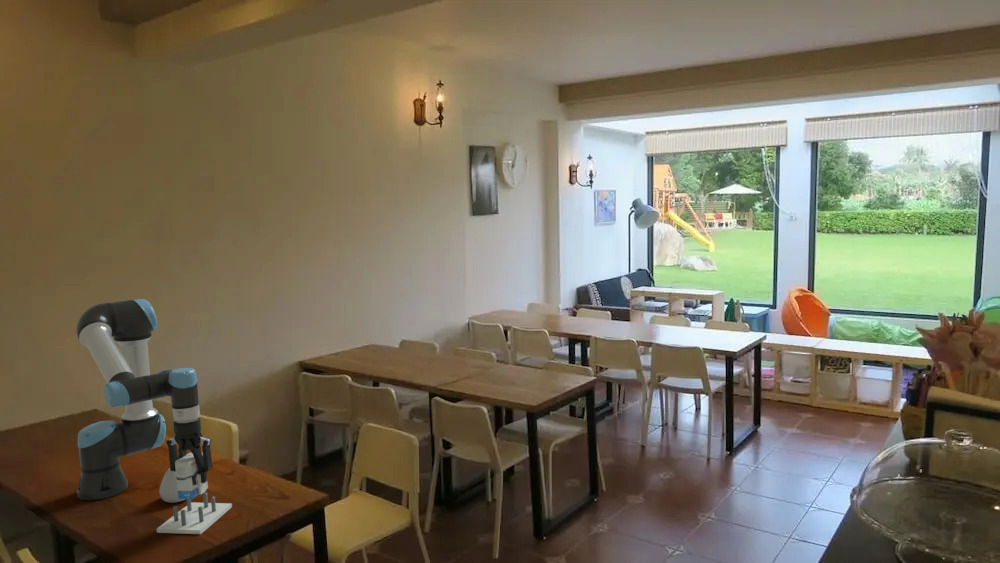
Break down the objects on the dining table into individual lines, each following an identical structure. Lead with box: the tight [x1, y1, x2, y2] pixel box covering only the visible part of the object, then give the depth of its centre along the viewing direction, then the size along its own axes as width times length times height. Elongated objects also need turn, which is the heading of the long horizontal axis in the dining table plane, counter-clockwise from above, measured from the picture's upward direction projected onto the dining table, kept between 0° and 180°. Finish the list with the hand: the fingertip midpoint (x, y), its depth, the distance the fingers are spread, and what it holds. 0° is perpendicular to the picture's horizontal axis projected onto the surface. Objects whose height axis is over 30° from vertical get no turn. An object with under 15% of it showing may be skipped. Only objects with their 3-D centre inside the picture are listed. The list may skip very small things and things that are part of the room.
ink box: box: [175, 452, 209, 500], centre depth 212 cm, size 8×5×12 cm, turn 168°
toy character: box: [158, 467, 187, 504], centre depth 229 cm, size 10×10×12 cm
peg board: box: [156, 492, 233, 535], centre depth 214 cm, size 14×18×6 cm
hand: (193, 492), depth 213 cm, fingers closed on ink box, 5 cm apart
